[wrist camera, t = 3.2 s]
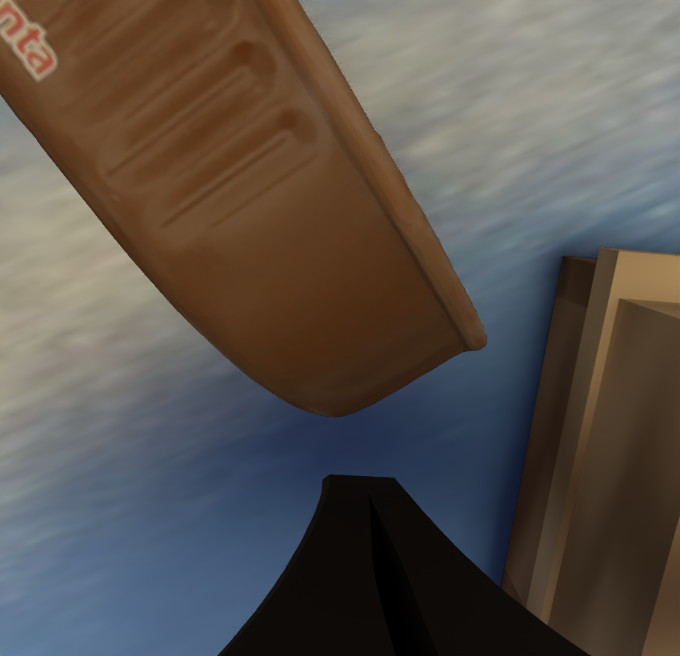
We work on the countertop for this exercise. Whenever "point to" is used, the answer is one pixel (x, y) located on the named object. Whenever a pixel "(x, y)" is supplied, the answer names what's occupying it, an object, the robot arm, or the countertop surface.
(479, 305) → the countertop surface
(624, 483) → the cover plate
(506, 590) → the box
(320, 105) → the tin
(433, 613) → the robot arm
